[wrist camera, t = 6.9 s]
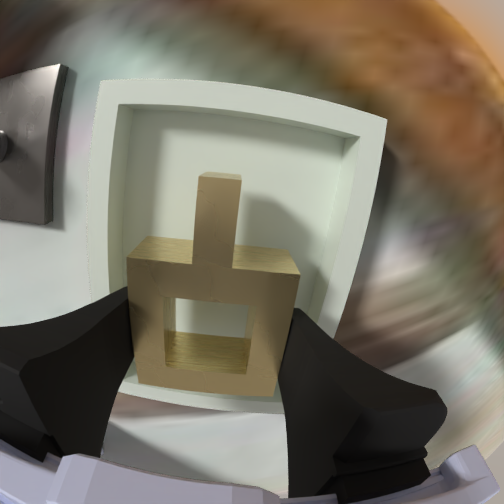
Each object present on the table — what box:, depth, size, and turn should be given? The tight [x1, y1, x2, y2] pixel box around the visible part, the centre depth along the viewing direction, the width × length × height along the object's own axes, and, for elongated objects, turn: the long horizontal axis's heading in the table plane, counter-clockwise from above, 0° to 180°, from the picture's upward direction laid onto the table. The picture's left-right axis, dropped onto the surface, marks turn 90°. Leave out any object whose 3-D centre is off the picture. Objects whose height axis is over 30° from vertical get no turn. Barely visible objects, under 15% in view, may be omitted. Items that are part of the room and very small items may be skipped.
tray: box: [87, 79, 387, 414], centre depth 12 cm, size 15×11×2 cm
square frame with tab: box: [126, 171, 301, 397], centre depth 10 cm, size 8×5×2 cm
